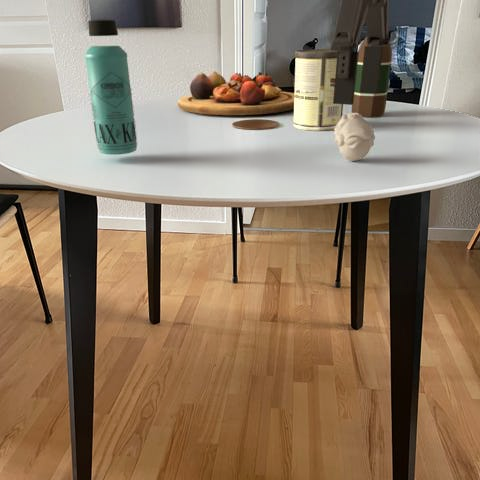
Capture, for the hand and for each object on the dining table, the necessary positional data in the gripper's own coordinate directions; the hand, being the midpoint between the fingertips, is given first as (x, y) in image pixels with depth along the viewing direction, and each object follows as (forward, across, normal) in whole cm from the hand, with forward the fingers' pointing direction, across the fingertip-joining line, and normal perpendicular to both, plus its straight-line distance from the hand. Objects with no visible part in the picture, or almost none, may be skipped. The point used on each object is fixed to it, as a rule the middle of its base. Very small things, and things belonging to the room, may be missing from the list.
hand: (356, 98), depth 75 cm
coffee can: (+10, -25, -15) cm, 31 cm away
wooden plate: (+10, -42, -42) cm, 60 cm away
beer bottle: (+9, -43, -9) cm, 45 cm away
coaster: (+9, -21, -27) cm, 36 cm away
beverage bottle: (+10, +15, -35) cm, 39 cm away
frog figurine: (+9, 0, 0) cm, 9 cm away
